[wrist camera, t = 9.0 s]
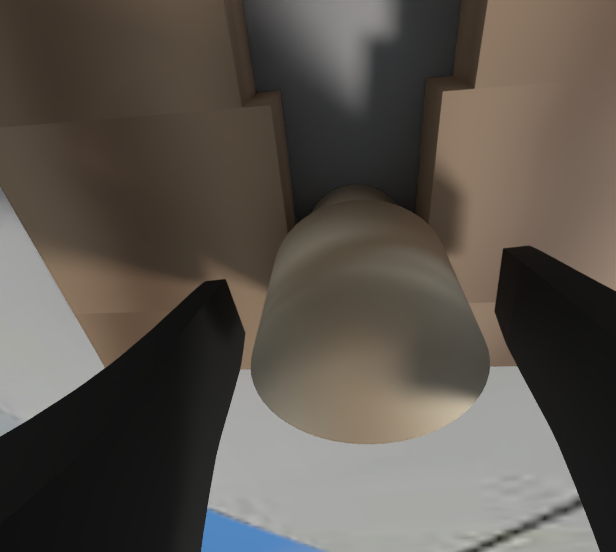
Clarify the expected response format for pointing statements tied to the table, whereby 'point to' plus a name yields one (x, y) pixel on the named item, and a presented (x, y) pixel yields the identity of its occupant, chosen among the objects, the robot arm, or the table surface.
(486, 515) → the table surface
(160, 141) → the keyhole plate
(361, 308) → the birch peg
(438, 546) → the table surface
